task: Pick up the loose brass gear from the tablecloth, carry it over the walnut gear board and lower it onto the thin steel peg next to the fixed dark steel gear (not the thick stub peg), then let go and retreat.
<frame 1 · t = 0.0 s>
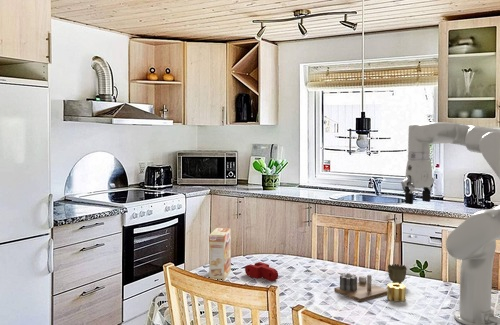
hand: (417, 202, 177), 37 cm above the table, tool pointing down, fingers open, 9 cm apart
brass gear: (396, 298, 180), on the table
gear board: (361, 292, 187), on the table
cup: (396, 285, 194), on the table
coffeecake box: (220, 275, 210), on the table
mechanical linkage: (263, 278, 206), on the table
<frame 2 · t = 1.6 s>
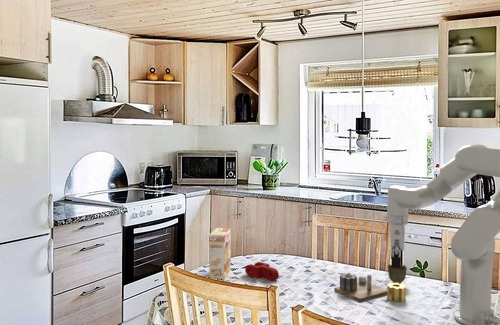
hand: (395, 263, 179), 13 cm above the table, tool pointing down, fingers open, 9 cm apart
nothing on the table moved.
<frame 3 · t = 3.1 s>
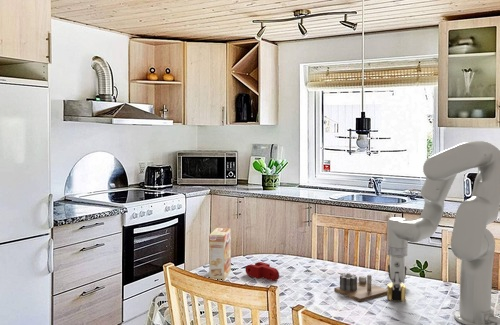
hand: (396, 296, 180), 1 cm above the table, tool pointing down, fingers closed on brass gear, 6 cm apart
brass gear: (396, 298, 180), on the table, touching gripper
everything else where it was.
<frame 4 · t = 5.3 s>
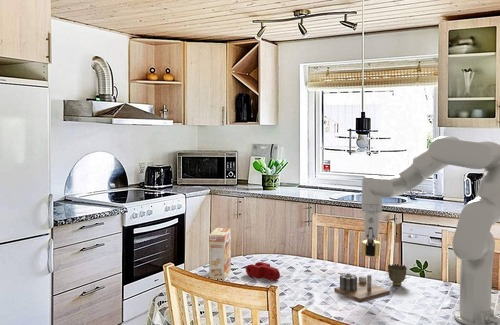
hand: (370, 252, 184), 16 cm above the table, tool pointing down, fingers closed on brass gear, 6 cm apart
brass gear: (370, 254, 184), point 15 cm above the table, touching gripper
everything else where it was.
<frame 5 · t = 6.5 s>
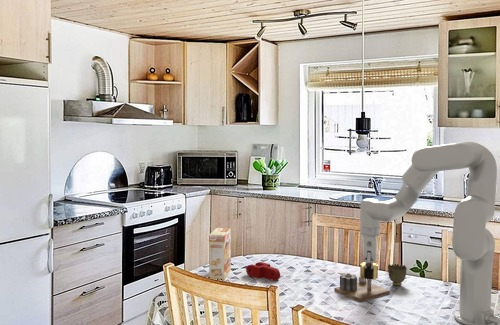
hand: (368, 275, 185), 7 cm above the table, tool pointing down, fingers closed on brass gear, 6 cm apart
brass gear: (368, 277, 185), point 6 cm above the table, touching gripper
everything else where it was.
when the fingers open (5 cm above the table, at t = 7.4 s): brass gear drops 3 cm, resting on gear board.
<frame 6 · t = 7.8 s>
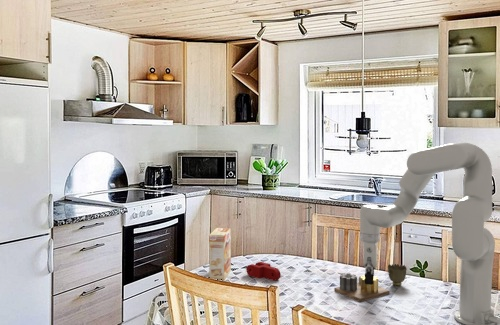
hand: (369, 280, 185), 5 cm above the table, tool pointing down, fingers open, 9 cm apart
brass gear: (369, 290, 185), point 1 cm above the table, touching gear board
everything else where it was.
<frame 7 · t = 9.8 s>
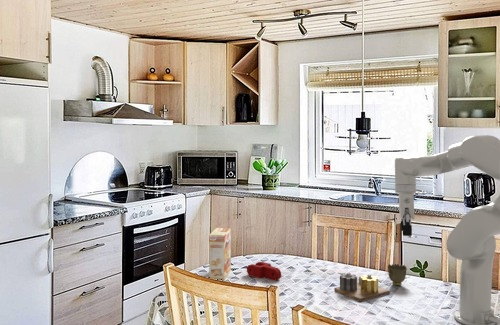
hand: (406, 233, 181), 24 cm above the table, tool pointing down, fingers open, 9 cm apart
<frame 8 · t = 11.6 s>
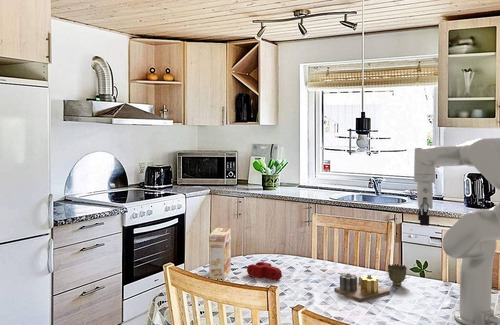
hand: (423, 222, 181), 28 cm above the table, tool pointing down, fingers open, 9 cm apart
at the end: brass gear 0.1 cm from the target spot, point 1.2 cm above the table; brass gear tilted 0°; the gripper is holding nothing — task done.
